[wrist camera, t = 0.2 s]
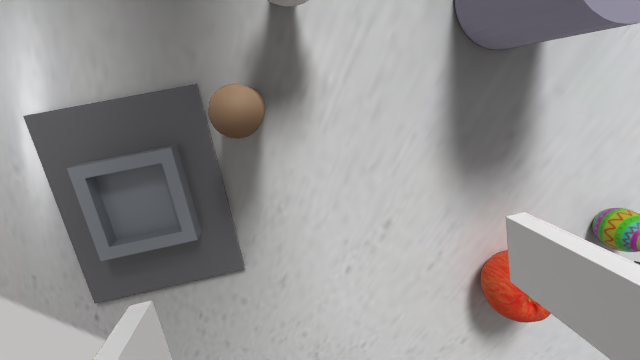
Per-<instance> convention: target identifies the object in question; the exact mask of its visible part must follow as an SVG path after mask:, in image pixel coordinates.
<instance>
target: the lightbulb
mask: <svg viewBox="0 0 640 360" xmlns="http://www.w3.org/2000/svg"><path fill="white" fill-rule="evenodd" d="M268 1H270V2H272V3H274V4H277V5H280V6H288V7H289V6H297V5H300V4H303V3H305V2H306V1H308V0H268Z"/></svg>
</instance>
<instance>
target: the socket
mask: <svg viewBox="0 0 640 360" xmlns="http://www.w3.org/2000/svg"><path fill="white" fill-rule="evenodd" d="M24 119H25V122H26V124H27V127H28V129H29V132H30V135H31V137H32V140H33V143H34V145H35V148H36V150H37V153H38V156H39V158H40V161H41V164H42V166H43V169H44V171H45V174H46V177H47V179H48V182H49V185H50V187H51V190H52V192H53V195H54V198H55V200H56V203H57V206H58V208H59V211H60V213H61V216H62V219H63V221H64V224H65V227H66V229H67V232H68V234H69V237H70V240H71V242H72V245H73V248H74V250H75V253H76V255H77V258H78V261H79V263H80V266H81V269H82V271H83V274H84V276H85V279H86V282H87V284H88V287H89V290H90V292H91V295H92V297H93V300H94V303H100V302H104V301H108V300H113V299H117V298H121V297H126V296H130V295H135V294H139V293H143V292H148V291H152V290H156V289H161V288H165V287H169V286H174V285H178V284H183V283H187V282H191V281H196V280H200V279H204V278H209V277H213V276H218V275H222V274H226V273H231V272H235V271H239V270H244V268H245V266H244V262H243V258H242V254H241V251H240V247H239V243H238V239H237V235H236V231H235V227H234V224H233V220H232V216H231V212H230V208H229V204H228V200H227V196H226V193H225V189H224V185H223V181H222V177H221V173H220V169H219V166H218V162H217V158H216V154H215V150H214V146H213V142H212V138H211V135H210V131H209V127H208V123H207V119H206V115H205V111H204V108H203V104H202V100H201V96H200V92H199V88H198V84H195V85H189V86H184V87H178V88H173V89H167V90H162V91H157V92H151V93H146V94H140V95H135V96H130V97H124V98H119V99H113V100H108V101H102V102H97V103H92V104H86V105H81V106H75V107H70V108H65V109H59V110H54V111H48V112H43V113H37V114H32V115H27V116H24Z"/></svg>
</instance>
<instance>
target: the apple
mask: <svg viewBox="0 0 640 360" xmlns="http://www.w3.org/2000/svg"><path fill="white" fill-rule="evenodd" d="M481 286H482V289H483V292H484V294H485V297H486V299H487V300H488V302H489V304H490V305H491V306H492V307H493V308H494V309H495V310H496V311H497V312H498V313H500V314H501V315H503V316H505V317H507V318H509V319H512V320H515V321H518V322H535V321H541V320H543V319H545V318H547V317H548V316H549V315H550V314H551V313H550V312H549V311H547V310H546V309H545V308H544V307H542V306H541V305H540V304H538V303H537V302H536V301H535V300H533V299H532V298H531V297H529V296H528V295H527V294H526V293H524V292H523V291H522V290H520V289H519V288H518V287H517V286H515V285H514V284H513V283H511V282H510V271H509V257H508V250H506V251H502V252H499V253H497V254H495V255H493V256H492V257H491V258H490V259H489V260H488V261H487V262H486V263H485V265H484V266H483V268H482V272H481Z"/></svg>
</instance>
